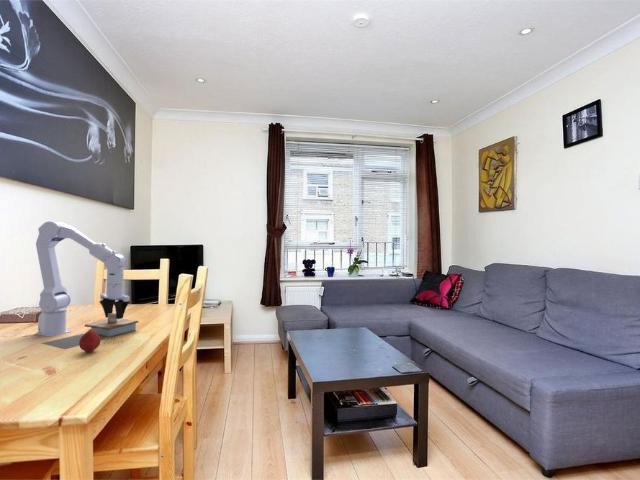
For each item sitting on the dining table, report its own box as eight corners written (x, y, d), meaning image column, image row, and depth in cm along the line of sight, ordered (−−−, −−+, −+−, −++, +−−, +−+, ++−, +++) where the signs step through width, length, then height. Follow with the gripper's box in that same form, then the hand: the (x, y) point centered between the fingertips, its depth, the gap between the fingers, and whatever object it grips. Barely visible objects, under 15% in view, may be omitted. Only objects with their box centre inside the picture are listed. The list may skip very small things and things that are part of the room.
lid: (84, 326, 131) (84, 315, 131) (115, 319, 143) (115, 309, 143) (108, 330, 126) (109, 318, 126) (138, 322, 138) (138, 312, 138)
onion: (89, 356, 107) (89, 331, 107) (74, 355, 108) (75, 330, 108) (104, 350, 113) (105, 327, 113) (90, 349, 114) (90, 326, 114)
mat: (40, 344, 119) (40, 343, 119) (82, 334, 131) (82, 333, 131) (64, 350, 113) (64, 349, 113) (105, 339, 126) (105, 338, 126)
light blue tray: (91, 334, 132) (91, 325, 132) (117, 328, 142) (117, 319, 142) (109, 337, 128) (109, 328, 128) (135, 331, 138) (135, 322, 138)
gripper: (93, 284, 134) (92, 317, 134) (118, 286, 129) (117, 321, 129) (109, 282, 141) (109, 314, 141) (134, 284, 135) (133, 318, 135)
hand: (114, 317), depth 135 cm, fingers open, 6 cm apart
